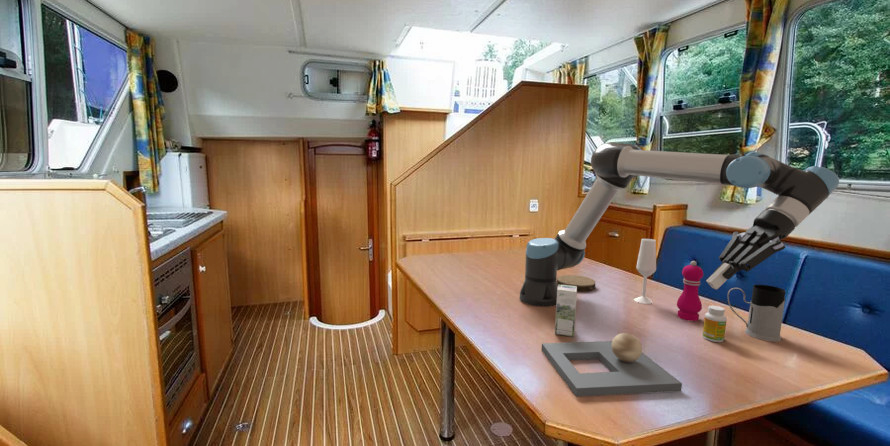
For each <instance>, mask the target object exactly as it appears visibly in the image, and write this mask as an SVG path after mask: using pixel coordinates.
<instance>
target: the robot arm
mask: <svg viewBox="0 0 890 446" xmlns="http://www.w3.org/2000/svg"><path fill="white" fill-rule="evenodd" d="M590 166H591V168H592V170H593V171H594V173H595V176H596V179H595V181H594V182H593V184H592V186H591V187H590V189H589V190H588V192H587V193H586V195H585V197H584V199H583V200H582V202H581V204H580V205H579V207H578V209H577V210H576V212H575V213H574V215H573V216H572V219H570V221H569V223H568V224H567V226H566V228H565V229H561V230H559V231H558V233H557V234H556V235H555V237H554V238H550V237H541V238H540V237H538V238H534V239H530V240H529V241H528V242H527V243H526V249H525V269H524V270H525V273H524V275H525V276H524V281H523V283H522V285H521V289H520V291H519V301H521V303H522V302H523V303H524V304H527V305H531V306H534V307H547V308H548V307H554V306H556V303H557V288H558V286H557V277H558V275H557V274H558V271H561V270H565V269H570V268H575V267H576V266H577V265H580V264H581V262H583V260H584V258H585V255H586V252H585V249H586V248H587V242H586V240H587V239H588V237H589V236H590V234H591V233H592V232H593V230H594V229H595V227H596V225H597V224H598V223H599V222H600V220H601V218H602V216H603V215H604V214H605V212H606V211H607V209H608V207H609V206H610V205H611V203H612V201H613V200H614V198H615V197H616V195H617V194H618V192H619V191H621V190H625V189H626V188H627V187H628V186H629V184H630V183H631V181H632V180H633V179H635V178H637V177H646V178H647V177H649V178H658V179H659V178H660V179H669V180H677V181H687V182H688V181H689V182H696V183H697V182H698V183H704V184H705V183H707V184H716V185H724V186H731V187H732V186H734V187H737V188H740V189H741V188H744V189H752V188H753V189H754V188H759V187H760V188H761V189H763V190H766V191H768V192H770V193H773V195H777V196H776V198H775V199H773V200H772V201H771V203H769V204H768V205H767V206H766V207H765V208H764V210H762V211H761V212H760V213H759V214H758V215H757V216H756V217H755V218H754V220H753V222H752V223H753V224H752V226H751V227H749V228H748V229H746V230H745V232H741V233H740V232H739V231H734V232H733V233H732V238H731V239H730V241H729V242H728V243H727V245H726V246H725V247H724V249H723V250H722V252H721V254H720V255H719V256H718V260H720V262H721V264H720V265H719V266H718V267H716V268H715V269H714V272H713V273H712V274H711V275H710V276H709V277H708V278H707V279H706V280H705V281H706V282H707V284H708V285H709V287H711V288H712V289H714V290H718V289H719V288H720V287H721V286H723V285H724V283H725V282H727V280H730V279H731V278H733V277H734V275H736V274H737V272H741V271H744V272H749V271H751V270H752V269H754V268H756V267H757V266H758V265H760V264H761V263H763V262H765V260H767V259H768V258H770V257H771V256H772V255H775V254H776V253H777V252H780V251H783V250H785V249H786V245H785V244H784V243H783V242H782V241H781V240H784V239H786V238H787V237H789V235H790V234H791V233H792V232H793V231H794V230H795V228H796V227H798V226H799V225H801V223H803V222H804V220H805V219H806V218H808V216H809V215H811V214H812V213H813V211H815V210H816V209H817V208H818V207H819V206H820V205H821V204H822V203H824V201H825V200H827V199H828V198H829V196H830V195H831V194H832V193H833V192H834V190H836V188H837V187H838V186H839V184H840V179H839V177H838V175H837V174H836V173H835V172H834V171H833V170H831V169H830V168H826V167H824V166H821V167H820V166H818V165H813V166H809V167H807V168H805V169H803V170H802V169H800V168H796V167H793V166H791V165H789V164H786V163H784V162H782V161H780V160H777V159H775V158H773V157H770V156H769V155H767V154H763V153H760V152H758V151H751V152H748V153H747V154H745V155H734V154H733V155H729V154H719V153H718V154H715V153H702V152H701V153H699V152H681V151H680V152H679V151H664V150H663V151H661V150H649V149H648V150H644V149H642V148H641V147H639V146H638V145H635V144H632V143H629V142H628V143H627V142H626V143H624V142H623V143H622V142H621V143H620V142H613V141H612V142H611V141H610V142H606V143H602V144H600V145H599V146H598V147H596V148H595V149H594V150H593V153H592V154H591V157H590Z"/></svg>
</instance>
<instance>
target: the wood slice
mask: <svg viewBox="0 0 890 446" xmlns="http://www.w3.org/2000/svg"><path fill="white" fill-rule="evenodd" d="M556 283H557V286H558V285H568V286H577V293H580V292H581V293H585V292H587V293H588V292H592V291H595V289H596V280H594V279H593V278H591V277H588V276H583V275H577V274H563V275H558V276H557V277H556Z"/></svg>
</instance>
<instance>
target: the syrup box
mask: <svg viewBox="0 0 890 446" xmlns="http://www.w3.org/2000/svg"><path fill="white" fill-rule="evenodd" d="M577 296H578V292H577V286H568V285H558V288H557V303H556V305H555V306H556V307H555V319H554V320H555V322H554V323H555V325H554V334H555V335H559V336H565V337H572V338H573V337H575V326H576V312H577Z"/></svg>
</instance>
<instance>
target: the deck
mask: <svg viewBox="0 0 890 446" xmlns="http://www.w3.org/2000/svg"><path fill="white" fill-rule="evenodd" d="M612 341H613V340H600V341H599V340H597V341H574V342H573V341H572V342H570V341H569V342H546V343H545V342H543V343H541V352H542V353H543V354H544V355H545V357H546V358H547V360H548V361H549V362H550V363H551V365H552V366H553V368H554V369H555V370H556V372H557V373H558V374H559V376H560V377H561V378H562V380H563V381H564V383H565V384H566V386H567V387H568V388H569V389H570V390H571V392H572V393H573V395H574V396H575V397H592V396H593V397H594V396H611V395H612V396H613V395H631V394H633V395H634V394H650V393H651V394H653V393H654V394H655V393H673V392H674V393H675V392H682V385H683V383H682V382H681V380H679V379H677V378H676V377H675V376H674V375H672V374H671V373H670V372H669V371H667V370H666V369H664V368H663V367H662V366H661V365H660V364H658V363H657V362H655V361H654V360H653V359H652V358H650V357H649V356H648V355H647V354H645V353H644V352H643V351H642V354H641V356H640V357H639V358H638V359H637V360H636V361H633V362H624V361H622V360H620V359H618V358H617V357H616V356H615V355H614V353H613V351H612ZM578 360H599V361H600V362H601V363H602V364H603V365H604V366H605V367H606V369H608V370H609V371H603V372H600V371H599V372H598V371H597V372H579V371H578V369H577V368H576V366H574V364H572V363H571V361H578Z"/></svg>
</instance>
